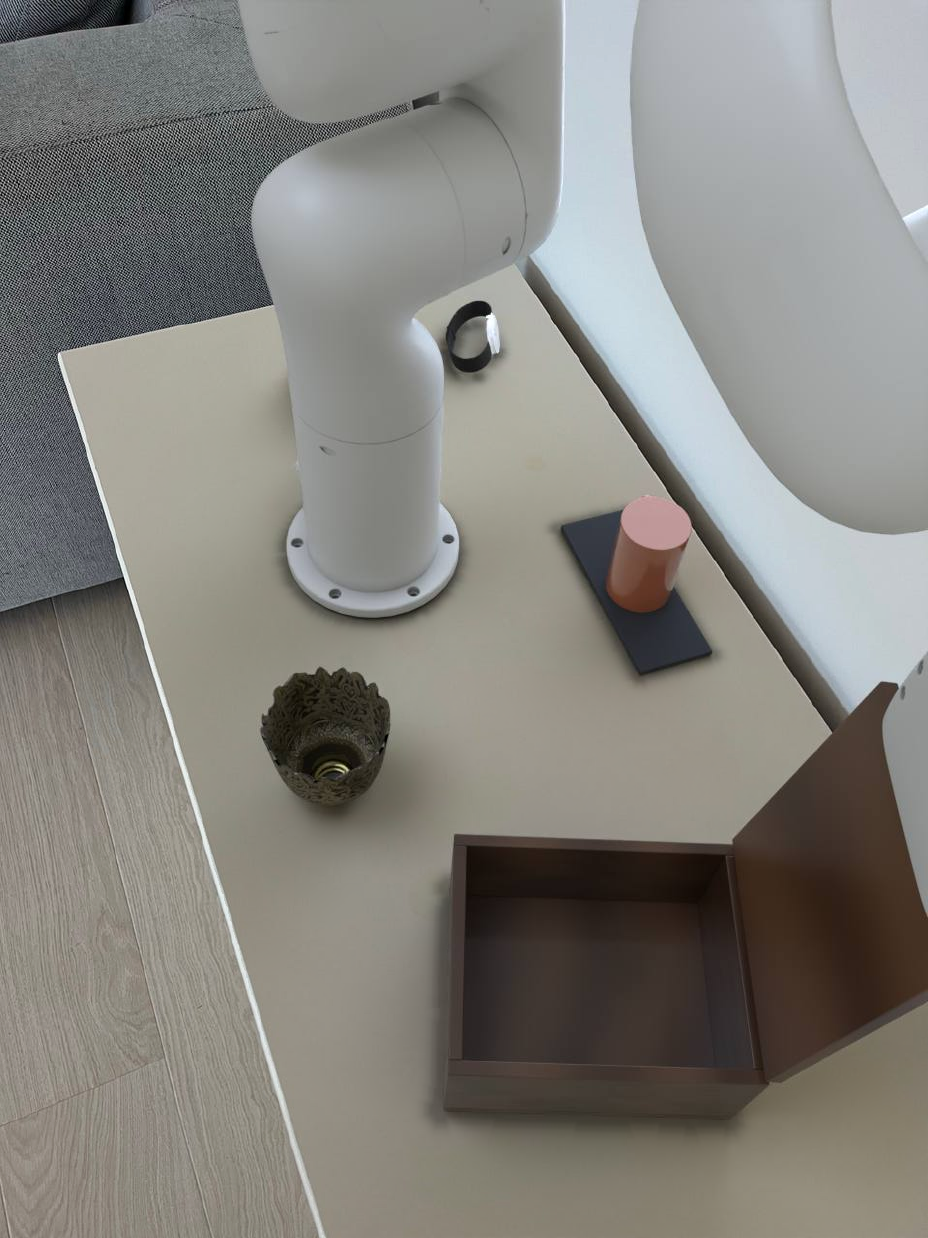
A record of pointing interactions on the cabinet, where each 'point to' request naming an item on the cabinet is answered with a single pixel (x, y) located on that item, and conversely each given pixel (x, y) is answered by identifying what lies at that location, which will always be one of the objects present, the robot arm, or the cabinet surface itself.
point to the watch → (493, 343)
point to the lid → (831, 901)
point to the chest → (598, 979)
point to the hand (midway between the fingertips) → (884, 896)
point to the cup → (327, 734)
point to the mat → (642, 634)
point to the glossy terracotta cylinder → (647, 553)
